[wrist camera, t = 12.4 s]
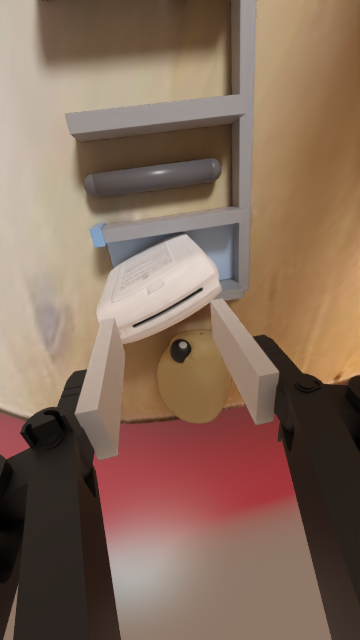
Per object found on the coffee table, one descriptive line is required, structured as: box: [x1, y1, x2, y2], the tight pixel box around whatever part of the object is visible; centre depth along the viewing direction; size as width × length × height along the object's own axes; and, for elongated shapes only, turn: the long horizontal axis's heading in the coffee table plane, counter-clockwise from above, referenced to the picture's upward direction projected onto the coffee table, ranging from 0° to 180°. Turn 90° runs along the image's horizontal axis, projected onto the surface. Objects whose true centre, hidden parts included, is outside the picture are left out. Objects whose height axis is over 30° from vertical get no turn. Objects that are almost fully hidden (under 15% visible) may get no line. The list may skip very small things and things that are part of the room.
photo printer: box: [96, 231, 222, 344], centre depth 22 cm, size 10×4×12 cm, turn 117°
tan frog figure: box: [157, 330, 232, 423], centre depth 29 cm, size 10×12×11 cm
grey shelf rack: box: [42, 0, 256, 304], centre depth 22 cm, size 26×16×4 cm, turn 7°
